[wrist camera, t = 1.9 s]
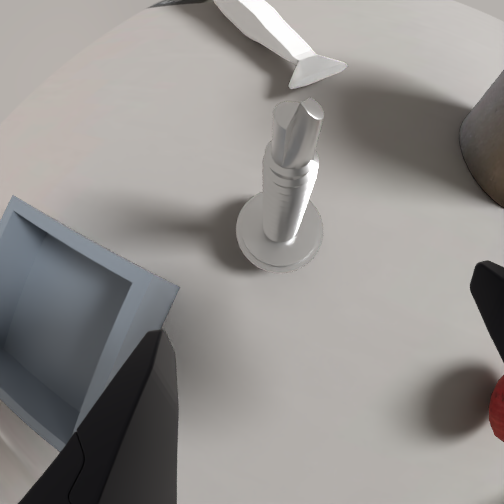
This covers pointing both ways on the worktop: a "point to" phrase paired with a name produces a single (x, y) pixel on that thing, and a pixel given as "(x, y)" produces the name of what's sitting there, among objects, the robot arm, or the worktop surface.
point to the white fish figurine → (279, 39)
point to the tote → (66, 319)
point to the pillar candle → (486, 141)
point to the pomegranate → (497, 409)
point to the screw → (285, 194)
